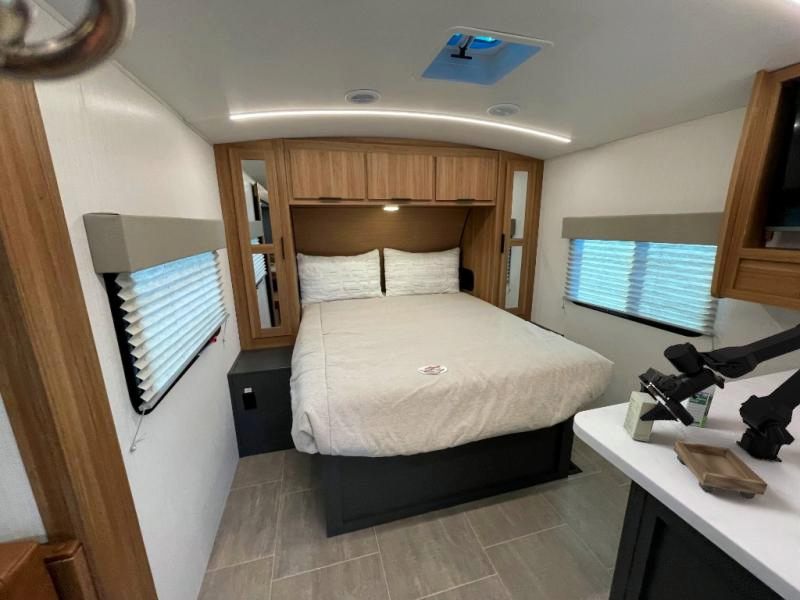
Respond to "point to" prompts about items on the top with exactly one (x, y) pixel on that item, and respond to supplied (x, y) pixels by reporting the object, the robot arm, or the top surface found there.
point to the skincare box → (636, 409)
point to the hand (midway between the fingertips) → (635, 412)
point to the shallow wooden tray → (719, 469)
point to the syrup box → (700, 405)
